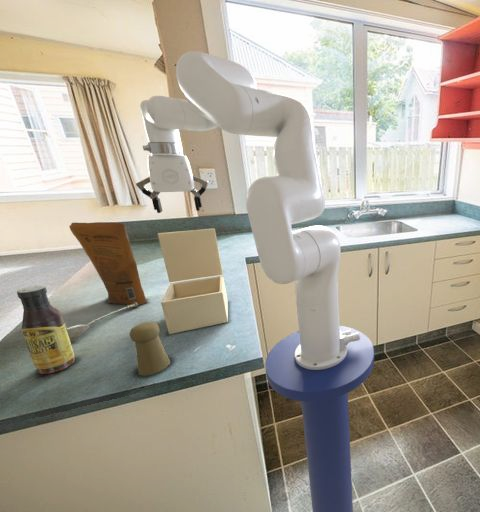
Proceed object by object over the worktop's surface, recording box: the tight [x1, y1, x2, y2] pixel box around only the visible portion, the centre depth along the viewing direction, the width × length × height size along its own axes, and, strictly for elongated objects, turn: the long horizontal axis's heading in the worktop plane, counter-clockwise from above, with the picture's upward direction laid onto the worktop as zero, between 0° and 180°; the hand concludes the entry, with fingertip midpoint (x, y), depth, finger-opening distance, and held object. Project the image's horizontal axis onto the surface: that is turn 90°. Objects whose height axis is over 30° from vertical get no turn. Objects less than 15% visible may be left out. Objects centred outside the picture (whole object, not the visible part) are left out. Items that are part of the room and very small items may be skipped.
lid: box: [157, 227, 224, 283], centre depth 94 cm, size 15×15×5 cm
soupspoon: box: [66, 302, 139, 343], centre depth 86 cm, size 22×3×7 cm
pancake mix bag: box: [68, 221, 148, 306], centre depth 96 cm, size 7×19×28 cm, turn 77°
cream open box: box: [160, 275, 229, 335], centre depth 90 cm, size 15×15×10 cm
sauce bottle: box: [16, 284, 76, 375], centre depth 66 cm, size 6×6×20 cm
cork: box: [129, 321, 171, 377], centre depth 67 cm, size 6×6×11 cm
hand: (179, 211), depth 88 cm, fingers open, 9 cm apart
